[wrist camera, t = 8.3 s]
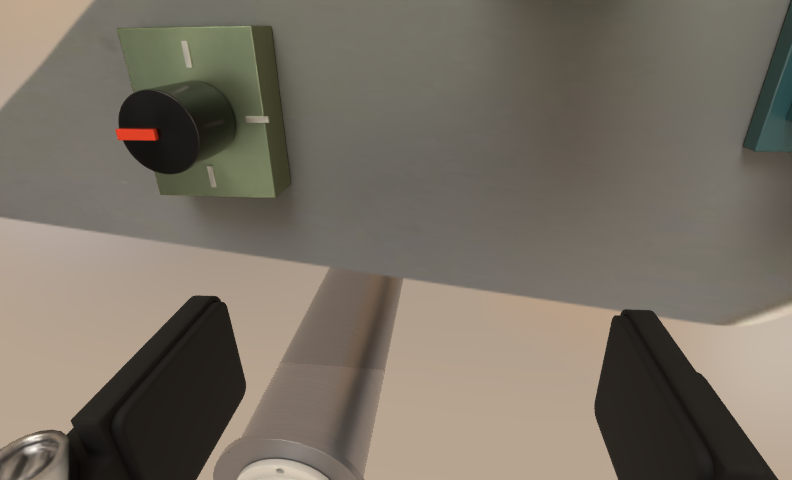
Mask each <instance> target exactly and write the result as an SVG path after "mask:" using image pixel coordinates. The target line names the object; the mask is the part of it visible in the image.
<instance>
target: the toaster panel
mask: <svg viewBox="0 0 792 480" xmlns="http://www.w3.org/2000/svg"><path fill="white" fill-rule="evenodd" d="M117 31H118V35H119V39H120V43H121V47H122V50H123V54H124V58H125V62H126V66H127V69H128V73H129V77H130V81H131V85H132V88H133V92H134V93H135V92H137V91H140V90H144V89H149V88H154V87H159V86H165V85H170V84H175V83H180V82H185V81H200V82H203V83H206V84H208V85H210V86H212V87H213V88H215V89H216V90H218V91H219V92H220V93H221V94H222V95H223V96H224V97H225V99H226V100H227V101H228V103H229V105H230V107H231V109H232V111H233V114H234V118H235V134H234V137H233V140H232V142H231V143H230V145H229V146H228V147H227V148H226V149H225V150H224V151H222V152H220V153H218V154H216V155H215V156H213V157H211V158H209V159H207V160H205V161H203V162H201V163H199V164H198V165H196V166H194V167H192V168H190V169H188V170H186V171H184V172H182V173H179V174H172V175H169V174H162V173H158V172H155V171H154V172H155V176H156V180H157V183H158V187H159V191H160V194H161V195H182V196H218V197H254V198H276V197H277V196H278V195H279V194H280V193H281V192H282V191H284V190H285V189H286V188H287V187H288V186H289V185H290V184H291V180H290V172H289V164H288V156H287V148H286V140H285V132H284V124H283V116H282V108H281V100H280V92H279V84H278V76H277V68H276V60H275V52H274V44H273V36H272V28H271V26H211V27H157V28H118V29H117Z"/></svg>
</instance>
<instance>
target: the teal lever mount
mask: <svg viewBox="0 0 792 480" xmlns="http://www.w3.org/2000/svg"><path fill="white" fill-rule="evenodd" d="M744 147H745V148H748V149H750V150H753V151H755V152H792V1H791V4H790V7H789V10H788V13H787V16H786V19H785V22H784V25H783V28H782V31H781V34H780V37H779V40H778V43H777V46H776V49H775V52H774V55H773V58H772V61H771V64H770V67H769V70H768V73H767V76H766V79H765V82H764V85H763V88H762V91H761V94H760V97H759V100H758V103H757V106H756V109H755V112H754V115H753V118H752V121H751V124H750V127H749V130H748V133H747V136H746V139H745V143H744Z"/></svg>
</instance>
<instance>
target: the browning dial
mask: <svg viewBox="0 0 792 480" xmlns="http://www.w3.org/2000/svg"><path fill="white" fill-rule="evenodd" d="M116 134H117V137H118V140H123V142H124V144H125V146H126V147H127V149H128V150H129V152H130V153H131V154H132V155H133V157H134V158H135V159H136V160H137V161H138V162H140V163H141V164H142V165H144V166H145V167H147V168H148V169H150V170H152V171H155V172H158V173H162V174H169V175H172V174H179V173H182V172H184V171H186V170H188V169H190V168H192V167H194V166H196V165H198V164H199V163H201V162H203V161H205V160H207V159H209V158H211V157H213V156H215V155H216V154H218V153H220V152H222V151H224V150H225V149H226V148H227V147H228V146H229V145H230V143H231V142H232V140H233V137H234V134H235V118H234V114H233V111H232V109H231V107H230V105H229V103H228V101H227V100H226V99H225V97H224V96H223V95H222V94H221V93H220V92H219V91H218V90H216V89H215V88H213V87H212V86H210V85H208V84H206V83H203V82H200V81H185V82H180V83H175V84H170V85H165V86H159V87H154V88H149V89H144V90H140V91H137V92H135V93H133V94H131V95H130V96H129V97H128V98H127V99H126V100H125V101H124V103H123V104H122V106H121V109H120V112H119V129H116Z"/></svg>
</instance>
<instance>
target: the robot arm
mask: <svg viewBox="0 0 792 480" xmlns="http://www.w3.org/2000/svg"><path fill="white" fill-rule="evenodd" d="M245 389H246V382H245V377H244V373H243V369H242V365H241V361H240V357H239V353H238V349H237V345H236V341H235V337H234V333H233V329H232V325H231V321H230V317H229V313H228V309H227V306H226V304H225V303H224V302H221V300H220V299H219V298H218V297H216V296H193V297H191V298H190V299H189V300H188V301H187V302H186V303H185V304H184V305H183V306H182V307H181V308H180V309H179V310H178V311H177V312H176V313H175V314H174V315H173V316H172V317H171V318H170V319H169V320H168V322H167V323H165V324H164V325H163V326H162V327H161V329H160V330H159V331H158V332H157V333H156V334H155V335H154V336H153V337H152V338H151V339H150V340H149V341H148V342H147V343H146V344H145V345H144V346H143V347H142V348H141V349H140V350H139V351H138V352H137V353H136V354H135V355H134V356H133V357H132V358H131V359H130V360H129V361H128V362H127V363H126V364H125V365H124V366H123V367H122V368H121V370H119V371H118V372H117V373H116V375H115V376H114V377H113V378H112V379H111V380H110V381H109V382H108V383H107V384H106V385H105V386H104V387H103V388H102V389H101V390H100V391H99V392H98V393H97V394H96V395H95V396H94V397H93V398H92V399H91V400H90V401H89V402H88V403H87V404H86V405H85V406H84V407H83V408H82V409H81V410H80V411H79V412H78V413H77V414H76V416H75V417H74V418H72V420H71V422H72V424H73V426H74V428H73V429H72V430H71V431H70V432H69V433H68V434H67V435H65V434H64V433H63V432H61V431H56V430H46V431H39V432H35V433H32V434H29V435H26V436H24V437H22V438H19V439H17V440H15V441H13V442H11V443H9V444H8V445H6V446H5V447H3V448H2V449H0V480H196V479H197V477H198V476H199V474H200V472H201V470H202V469H203V467H204V465H205V463H206V462H207V460H208V458H209V456H210V455H211V452H212V451H213V449H214V447H215V446H216V444H217V442H218V440H219V439H220V437H221V435H222V433H223V432H224V430H225V428H226V427H227V425H228V423H229V421H230V420H231V418H232V416H233V414H234V413H235V411H236V409H237V407H238V406H239V404H240V402H241V400H242V399H243V396H244V394H245ZM595 416H596V420H597V422H598V425H599V428H600V431H601V434H602V436H603V439H604V442H605V444H606V447H607V450H608V452H609V455H610V458H611V461H612V464H613V466H614V469H615V472H616V475H617V477H618V480H778V479H777V477H776V476H775V475H774V473H773V472H772V471H771V469H770V468H769V466H768V465H767V463H766V462H765V461H764V459H763V458H762V456H761V455H760V454H759V452H758V451H757V449H756V448H755V447H754V445H753V444H752V442H751V441H750V440H749V438H748V437H747V435H746V434H745V433H744V431H743V430H742V429H741V427H740V426H739V424H738V423H737V422H736V420H735V419H734V417H733V416H732V415H731V413H730V412H729V410H728V409H727V408H726V406H725V405H724V404H723V402H722V401H721V399H720V398H719V397H718V395H717V394H716V393H715V391H714V390H713V388H712V387H711V385H710V384H709V383H708V381H707V380H706V379H705V378H704V377H703V376H702V375H701V374H700V373H698V372H696V371H695V369H694V368H693V367H692V365H691V364H690V362H689V361H688V360H687V358H686V357H685V355H684V354H683V352H682V351H681V350H680V348H679V347H678V345H677V344H676V343H675V341H674V340H673V338H672V337H671V335H670V334H669V333H668V331H667V330H666V328H665V327H664V326H663V324H662V323H661V321H660V320H659V318H658V317H657V316H656V314H655V313H654V312H653V311H651V310H626V309H625V310H623V311H622V312H621V315H620V316H614V317H613V319H612V322H611V327H610V332H609V337H608V341H607V347H606V351H605V356H604V360H603V365H602V370H601V375H600V380H599V385H598V389H597V394H596V399H595ZM237 480H329V479H328V478H327V477H326V476H324V475H323V474H322V473H320V472H319V471H317V470H315V469H314V468H312V467H310V466H307V465H305V464H302V463H299V462H295V461H292V460H285V459H266V460H260V461H257V462H254V463H252V464H250V465H248V466H247V467H245V468H244V469H243V470H242V471H241V472H240V474H239V476H238V478H237Z"/></svg>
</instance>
